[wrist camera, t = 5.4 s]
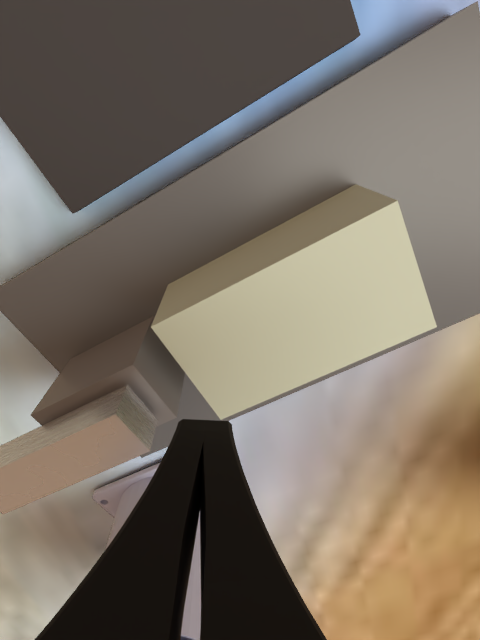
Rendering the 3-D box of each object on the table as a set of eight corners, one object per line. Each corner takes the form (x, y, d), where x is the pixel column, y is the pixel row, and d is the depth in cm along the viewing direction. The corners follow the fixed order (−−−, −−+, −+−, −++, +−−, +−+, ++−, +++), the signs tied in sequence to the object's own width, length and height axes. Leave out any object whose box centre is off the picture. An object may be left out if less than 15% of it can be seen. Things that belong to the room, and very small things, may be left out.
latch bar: (157, 419, 14) (149, 451, 13) (24, 479, 15) (3, 513, 14) (127, 384, 13) (115, 414, 12) (-12, 450, 15) (-37, 485, 13)
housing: (503, 282, 18) (605, 336, 13) (146, 438, 22) (124, 522, 18) (452, 14, 13) (585, -57, 8) (4, 283, 17) (-83, 341, 13)
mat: (353, 40, 13) (360, 35, 13) (79, 210, 16) (72, 213, 15) (257, -275, 10) (259, -306, 9) (-70, 5, 13) (-88, -3, 12)
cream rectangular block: (392, 285, 16) (436, 327, 13) (222, 364, 18) (220, 419, 15) (355, 184, 14) (397, 200, 11) (168, 284, 16) (150, 327, 12)
